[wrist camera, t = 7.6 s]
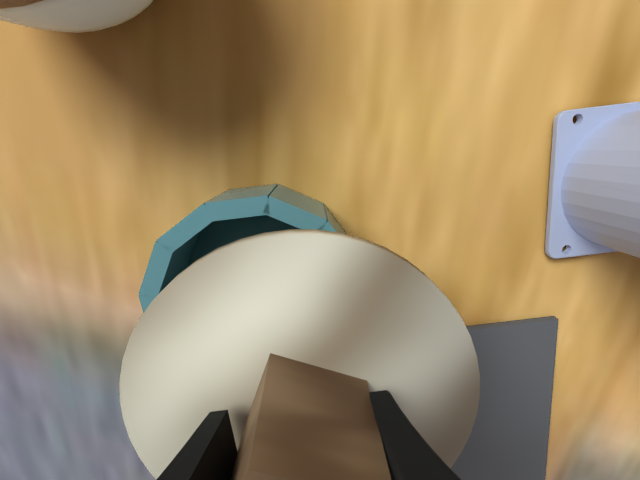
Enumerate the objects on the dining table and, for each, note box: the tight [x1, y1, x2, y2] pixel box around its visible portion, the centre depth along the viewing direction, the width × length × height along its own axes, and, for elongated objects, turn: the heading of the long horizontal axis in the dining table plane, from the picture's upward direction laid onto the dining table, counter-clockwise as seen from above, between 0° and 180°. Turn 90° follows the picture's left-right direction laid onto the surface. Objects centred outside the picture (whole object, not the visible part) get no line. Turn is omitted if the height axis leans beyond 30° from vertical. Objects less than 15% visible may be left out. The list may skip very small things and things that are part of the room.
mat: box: [450, 316, 558, 480], centre depth 23 cm, size 14×14×1 cm
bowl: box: [139, 184, 346, 313], centre depth 18 cm, size 10×10×4 cm
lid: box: [120, 229, 480, 480], centre depth 11 cm, size 13×13×5 cm
